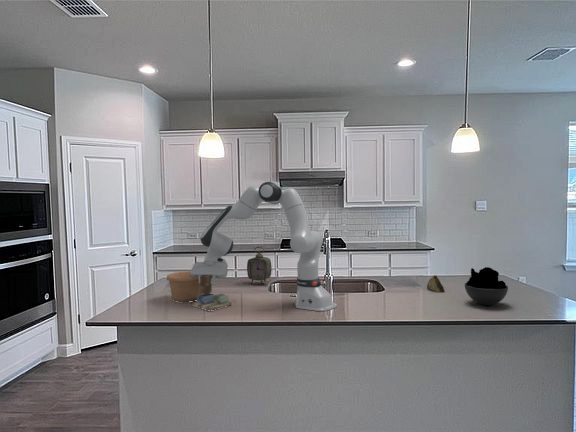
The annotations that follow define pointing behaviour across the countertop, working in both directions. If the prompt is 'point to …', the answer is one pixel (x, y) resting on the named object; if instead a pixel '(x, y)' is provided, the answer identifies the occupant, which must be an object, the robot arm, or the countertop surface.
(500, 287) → the bowl of black rocks
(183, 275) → the pottery
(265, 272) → the tabletop clock
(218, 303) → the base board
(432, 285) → the rock
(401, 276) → the countertop surface
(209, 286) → the pillar
